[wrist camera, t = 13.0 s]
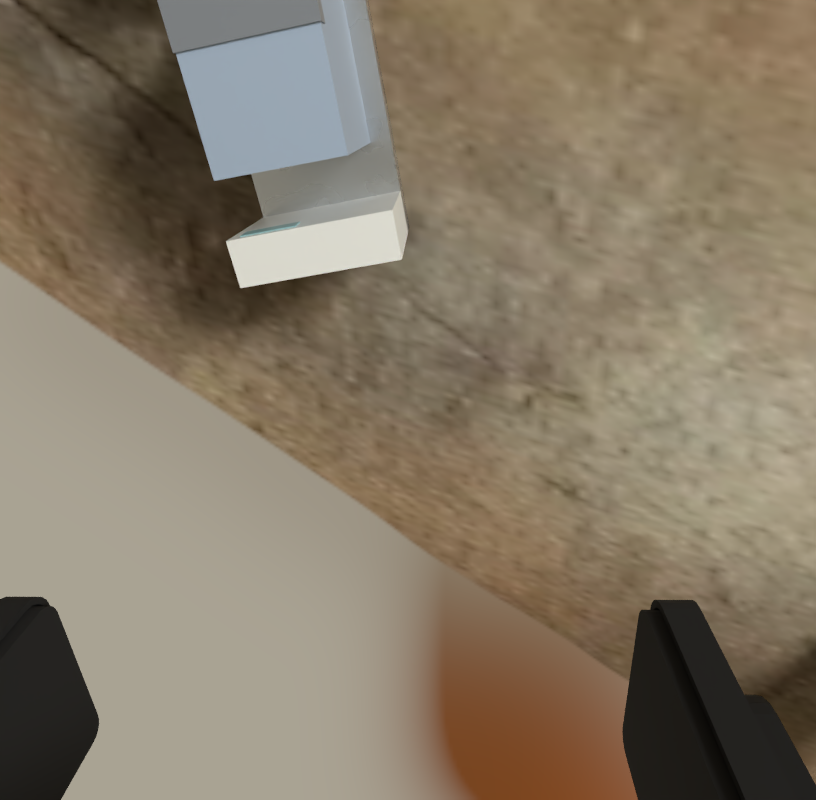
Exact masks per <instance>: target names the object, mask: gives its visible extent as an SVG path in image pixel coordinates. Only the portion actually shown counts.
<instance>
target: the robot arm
mask: <svg viewBox="0 0 816 800" xmlns="http://www.w3.org/2000/svg"><path fill="white" fill-rule="evenodd" d="M98 726H99V718H98V714H97V712H96V709H95V707H94V704H93V701H92V699H91V696H90V694H89V691H88V689H87V686H86V684H85V681H84V678H83V676H82V673H81V671H80V668H79V666H78V663H77V661H76V658H75V655H74V653H73V650H72V648H71V645H70V643H69V640H68V638H67V635H66V633H65V630H64V628H63V625H62V622H61V620H60V618H59V615H58V612H57V611H56V609H55V608H54V607H52V606H50V605H49V603H48V602H47V600H46V599H44V598H42V597H5V598H2V599H0V800H61V798H62V797H63V795H64V793H65V791H66V789H67V788H68V786H69V784H70V782H71V781H72V779H73V777H74V775H75V774H76V772H77V770H78V768H79V767H80V765H81V763H82V761H83V760H84V758H85V756H86V754H87V753H88V751H89V749H90V747H91V746H92V744H93V742H94V739H95V738H96V735H97V731H98ZM623 743H624V749H625V753H626V757H627V761H628V764H629V768H630V772H631V776H632V779H633V783H634V786H635V790H636V793H637V797H638V800H816V785H815V783H814V781H813V779H812V777H811V776H810V774H809V772H808V770H807V768H806V766H805V765H804V763H803V761H802V759H801V757H800V756H799V754H798V752H797V750H796V748H795V746H794V745H793V743H792V741H791V739H790V737H789V735H788V734H787V732H786V730H785V728H784V726H783V724H782V723H781V721H780V719H779V717H778V715H777V714H776V712H775V711H774V709H773V708H772V706H771V705H770V703H769V702H768V701H767V700H765V699H764V698H763V697H762V696H758V695H744V694H743V692H742V690H741V688H740V686H739V684H738V682H737V680H736V678H735V676H734V674H733V672H732V670H731V668H730V666H729V664H728V662H727V660H726V658H725V656H724V654H723V652H722V650H721V648H720V647H719V645H718V643H717V641H716V639H715V637H714V635H713V633H712V631H711V629H710V627H709V625H708V623H707V621H706V619H705V617H704V615H703V613H702V611H701V609H700V607H699V606H698V604H697V603H696V602H695V601H693V600H654V601H653V602H652V605H651V609H650V610H641V611H640V613H639V618H638V625H637V632H636V639H635V646H634V653H633V660H632V667H631V674H630V681H629V688H628V695H627V702H626V708H625V716H624V722H623Z"/></svg>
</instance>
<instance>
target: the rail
mask: <svg viewBox="0 0 816 800" xmlns="http://www.w3.org/2000/svg"><path fill="white" fill-rule="evenodd" d="M343 1H344V7H345V12H346V17H347V22H348V28H349V33H350V38H351V44H352V49H353V54H354V59H355V65H356V70H357V75H358V80H359V86H360V91H361V96H362V102H363V107H364V112H365V117H366V123H367V128H368V133H369V138H370V143H369V144H367V145H366V146H364V147H362V148H360V149H358V150H357V151H355V152H353V153H351V154H349V155H347V156H341V157H336V158H331V159H326V160H321V161H315V162H310V163H305V164H300V165H295V166H289V167H284V168H279V169H274V170H269V171H263V172H258V173H253V174H251V175H252V179H253V182H254V186H255V189H256V193H257V197H258V200H259V204H260V207H261V211H262V214H263V217H267V216H272V215H278V214H283V213H288V212H293V211H299V210H304V209H309V208H314V207H319V206H325V205H330V204H335V203H340V202H345V201H351V200H356V199H361V198H366V197H371V196H377V195H382V194H387V193H392V192H397V191H401V197H402V202H403V208H404V213H405V218H406V224H407V229H408V230H409V223H408V217H407V212H406V206H405V201H404V195H403V190H402V184H401V179H400V173H399V168H398V162H397V157H396V151H395V146H394V140H393V135H392V129H391V124H390V118H389V113H388V107H387V102H386V96H385V91H384V85H383V80H382V74H381V69H380V63H379V58H378V52H377V47H376V41H375V36H374V30H373V25H372V19H371V14H370V8H369V3H368V0H343Z"/></svg>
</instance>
